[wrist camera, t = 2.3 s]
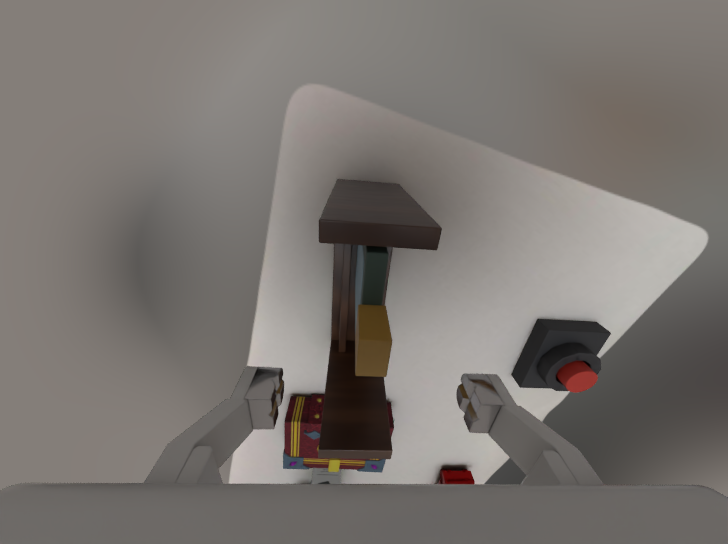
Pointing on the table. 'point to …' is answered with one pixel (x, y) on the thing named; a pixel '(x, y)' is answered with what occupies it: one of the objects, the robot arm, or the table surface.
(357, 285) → the window pane
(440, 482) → the toy car
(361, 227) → the window frame
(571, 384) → the red push button
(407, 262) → the table surface
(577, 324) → the switch block
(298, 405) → the decorative book
